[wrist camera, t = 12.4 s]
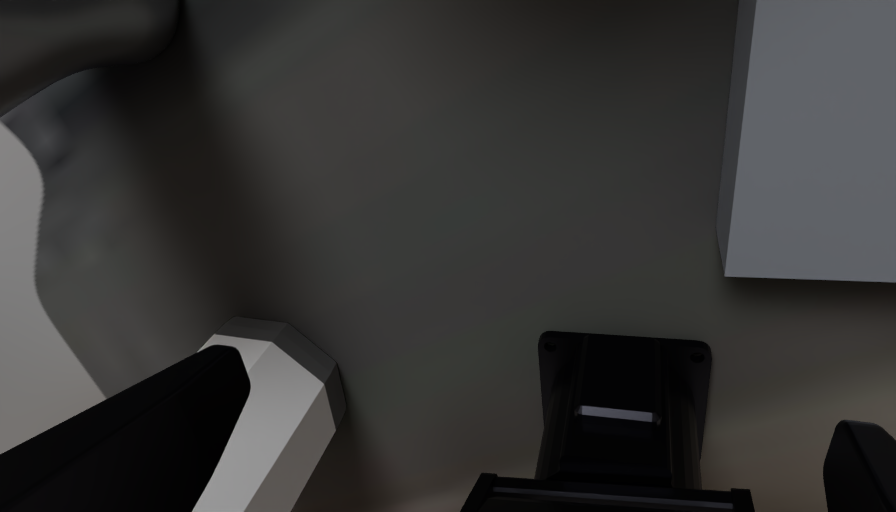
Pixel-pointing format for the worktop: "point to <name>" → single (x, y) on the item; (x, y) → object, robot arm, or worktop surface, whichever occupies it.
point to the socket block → (811, 142)
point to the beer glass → (76, 40)
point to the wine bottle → (274, 418)
